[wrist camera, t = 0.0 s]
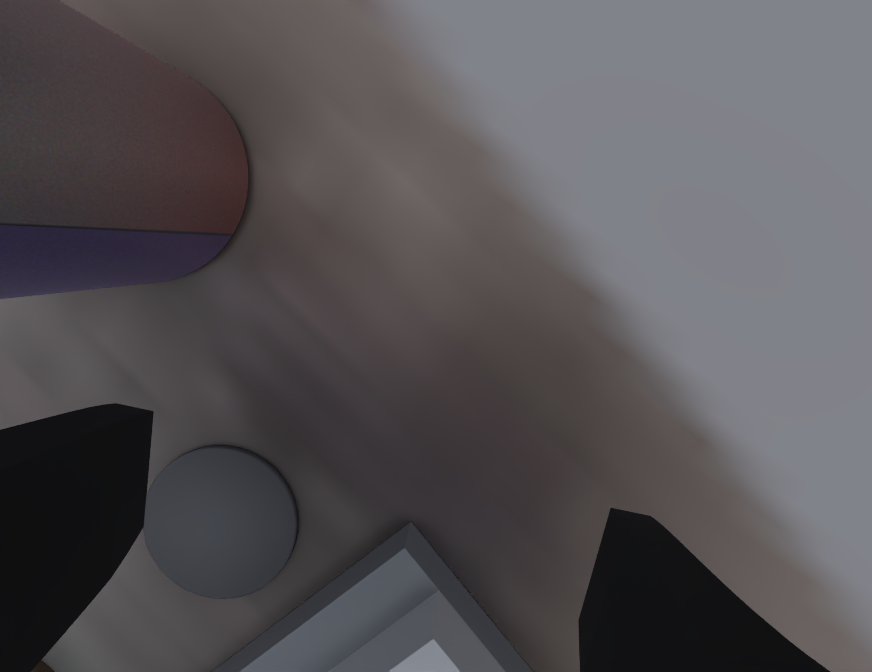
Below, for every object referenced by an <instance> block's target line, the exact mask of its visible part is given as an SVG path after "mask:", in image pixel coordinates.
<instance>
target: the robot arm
mask: <svg viewBox="0 0 872 672" xmlns="http://www.w3.org/2000/svg"><path fill="white" fill-rule="evenodd" d="M152 423H153V411H150V410H145V409H140V408H135V407H131V406H126V405H121V404H116V403H115V404H106V405H99V406H94V407H89V408H85V409H80V410H76V411H72V412H68V413H64V414H60V415H56V416H52V417H48V418H44V419H41V420H37V421H33V422H29V423H25V424H21V425H17V426H13V427H10V428H6V429H2V430H0V672H31V671H32V670H33V669H34V668H35V666H36V665H37V664H38V663H39V662H40V661H41V660H42V658H43V657H44V656H45V655H46V654H47V653H48V651H49V650H50V649H51V648H52V647H53V646H54V644H55V643H56V642H57V641H58V640H59V639H60V638H61V636H62V635H63V634H64V633H65V632H66V631H67V629H68V628H69V627H70V626H71V625H72V624H73V623H74V621H75V620H76V619H77V618H78V617H79V616H80V614H81V613H82V612H83V611H84V610H85V608H86V607H87V606H88V605H89V604H90V603H91V601H92V600H93V599H94V598H95V597H96V595H97V594H98V593H99V592H100V591H101V590H102V588H103V587H104V586H105V585H106V583H107V582H108V581H109V580H110V579H111V577H112V576H113V574H114V573H115V571H116V570H117V568H118V567H119V565H120V564H121V562H122V561H123V559H124V558H125V556H126V555H127V553H128V551H129V550H130V548H131V546H132V545H133V543H134V542H135V540H136V538H137V537H138V535H139V533H140V532H141V530H142V528H143V527H144V518H145V506H146V494H147V482H148V471H149V459H150V447H151V435H152ZM579 654H580V672H830V671H829V670H827V669H826V668H824V667H823V666H822V665H820V664H819V663H818V662H816V661H815V660H813V659H812V658H811V657H809V656H808V655H807V654H805V653H804V652H803V651H801V650H800V649H799V648H798V647H796V646H795V645H794V644H793V643H791V642H790V641H789V640H787V639H786V638H785V637H784V636H783V635H781V634H780V633H779V632H778V631H777V630H776V629H774V628H773V627H772V626H771V625H770V624H768V623H767V622H766V621H765V620H764V619H763V618H761V617H760V616H759V615H758V614H757V613H755V612H754V611H753V610H752V609H751V608H750V607H749V606H747V605H746V604H745V603H744V602H743V601H742V600H741V599H740V598H739V597H737V596H736V595H735V594H734V593H733V592H732V591H731V590H730V589H729V588H728V587H727V586H725V585H724V584H723V583H722V582H721V581H720V580H719V579H718V578H717V577H716V576H715V575H714V574H713V573H712V572H711V571H710V570H709V569H708V568H707V567H705V566H704V565H703V564H702V563H701V562H700V561H699V560H698V559H697V558H696V557H695V556H694V555H693V554H692V553H691V552H690V551H689V550H688V549H687V548H686V547H685V546H684V545H683V544H682V543H681V542H680V541H679V540H678V539H676V538H675V537H674V536H673V535H672V534H671V533H670V532H669V531H668V530H667V529H666V528H665V527H664V526H662V525H661V524H660V523H659V522H658V521H656V520H655V519H654V518H652V517H651V516H648V515H643V514H638V513H633V512H629V511H624V510H619V509H614V508H611V509H610V512H609V516H608V519H607V523H606V526H605V530H604V533H603V537H602V540H601V544H600V547H599V551H598V554H597V558H596V561H595V565H594V568H593V572H592V575H591V579H590V582H589V586H588V589H587V593H586V596H585V600H584V603H583V607H582V610H581V614H580V617H579Z"/></svg>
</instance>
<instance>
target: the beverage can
mask: <svg viewBox="0 0 872 672" xmlns="http://www.w3.org/2000/svg"><path fill="white" fill-rule="evenodd" d="M247 192H248V164H247V158H246V153H245V149H244V145H243V142H242V139H241V136H240V134H239V132H238V129H237V127H236V125H235V123H234V121H233V120H232V118H231V117H230V115H229V113H228V112H227V111H226V109H225V108H224V107H223V105H222V104H221V103H220V102H219V101H218V100H217V99H216V98H215V97H214V95H213V94H211V93H210V92H209V91H208V90H207V89H206V88H204V87H203V86H202V85H200V84H199V83H197V82H196V81H194V80H193V79H191V78H189V77H188V76H186V75H184V74H183V73H181V72H179V71H178V70H176V69H174V68H173V67H171V66H169V65H168V64H166V63H164V62H162V61H161V60H159V59H157V58H156V57H154V56H152V55H151V54H149V53H147V52H146V51H144V50H142V49H140V48H139V47H137V46H135V45H134V44H132V43H130V42H129V41H127V40H125V39H124V38H122V37H120V36H119V35H117V34H115V33H113V32H112V31H110V30H108V29H107V28H105V27H103V26H102V25H100V24H98V23H97V22H95V21H93V20H91V19H90V18H88V17H86V16H85V15H83V14H81V13H80V12H78V11H76V10H75V9H73V8H71V7H69V6H68V5H66V4H64V3H63V2H61V1H59V0H0V299H5V298H14V297H24V296H33V295H43V294H52V293H61V292H71V291H80V290H90V289H99V288H108V287H118V286H127V285H137V284H146V283H155V282H163V281H168V280H173V279H176V278H179V277H182V276H185V275H187V274H189V273H191V272H193V271H195V270H197V269H199V268H200V267H202V266H204V265H205V264H206V263H208V262H209V261H210V260H211V259H212V258H214V257H215V256H216V255H217V254H218V253H219V252H220V251H221V250H222V249H223V247H224V246H225V245H226V244H227V242H228V241H229V239H230V238H231V237H232V235H233V233H234V232H235V230H236V228H237V226H238V224H239V222H240V219H241V216H242V214H243V210H244V207H245V203H246V198H247Z"/></svg>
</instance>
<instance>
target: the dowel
mask: <svg viewBox="0 0 872 672" xmlns="http://www.w3.org/2000/svg"><path fill="white" fill-rule="evenodd" d="M31 672H53V671H52V670H51V668H50V667H48V666H47V665H46V664H45V663H43V662H41V661H40V662H39V663H38V664H37V665H36V666H35V668H34V669H33V670H32V671H31Z"/></svg>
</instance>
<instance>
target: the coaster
mask: <svg viewBox="0 0 872 672" xmlns="http://www.w3.org/2000/svg"><path fill="white" fill-rule="evenodd" d="M143 532H144V537H145V541H146V544H147V547H148V549H149V552H150V554H151V555H152V557H153V559H154V561H155V562H156V564H157V565H158V566H159V568H160V569H161V570H162V571H163V572H164V573H165V574H166V575H167V577H169V578H170V579H171V580H172V581H173V582H175V583H176V584H178V585H179V586H181V587H182V588H184V589H186V590H188V591H190V592H192V593H195V594H198V595H201V596H205V597H210V598H220V599H225V598H235V597H241V596H244V595H247V594H250V593H253V592H255V591H257V590H259V589H260V588H262V587H263V586H265V585H267V584H268V583H269V582H270V581H271V580H272V579H274V578H275V577H276V575H277V574H278V573H279V572H280V571H281V569H282V568H283V566H284V565H285V563H286V562H287V560H288V558H289V557H290V555H291V552H292V550H293V548H294V545H295V542H296V538H297V532H298V515H297V508H296V504H295V500H294V498H293V495H292V492H291V490H290V489H289V487H288V485H287V483H286V482H285V480H284V479H283V477H282V476H281V475H280V474H279V473H278V471H277V470H276V469H275V468H274V467H273V466H271V465H270V464H269V463H268V462H267V461H265V460H264V459H262V458H261V457H259V456H258V455H255V454H253V453H251V452H249V451H246V450H243V449H240V448H236V447H231V446H220V445H218V446H207V447H202V448H198V449H195V450H192V451H190V452H188V453H186V454H184V455H182V456H180V457H179V458H178V459H176V460H175V461H173V462H172V463H170V464H169V465H168V466H167V467H166V468H165V469H163V470H162V471H161V472H160V474H159V475H158V476H157V477H156V479H155V480H154V482H153V483H152V485H151V487H150V489H149V491H148V493H147V496H146V506H145V518H144V527H143Z"/></svg>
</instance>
